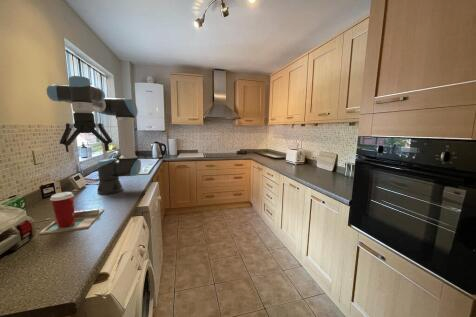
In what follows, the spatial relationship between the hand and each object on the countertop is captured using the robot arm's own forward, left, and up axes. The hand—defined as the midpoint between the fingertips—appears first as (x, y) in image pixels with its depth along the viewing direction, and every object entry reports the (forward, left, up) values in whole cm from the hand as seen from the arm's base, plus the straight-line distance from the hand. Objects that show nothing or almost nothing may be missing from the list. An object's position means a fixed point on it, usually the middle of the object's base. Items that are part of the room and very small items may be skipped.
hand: (89, 158), depth 94 cm
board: (-1, -9, -31) cm, 32 cm away
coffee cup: (+2, -12, -31) cm, 33 cm away
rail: (-4, -9, -30) cm, 32 cm away
